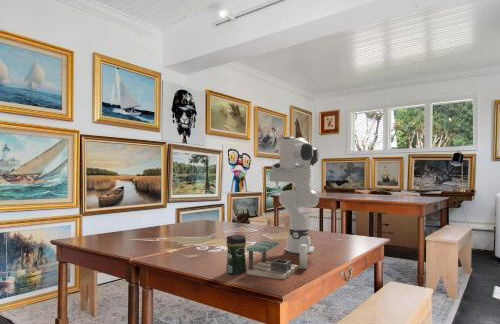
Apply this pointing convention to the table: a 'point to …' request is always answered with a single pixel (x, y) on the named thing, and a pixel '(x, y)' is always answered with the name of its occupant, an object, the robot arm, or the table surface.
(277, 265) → the canopy socket
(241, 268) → the coffee jar
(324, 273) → the table surface
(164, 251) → the table surface
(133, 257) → the table surface
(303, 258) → the peg
